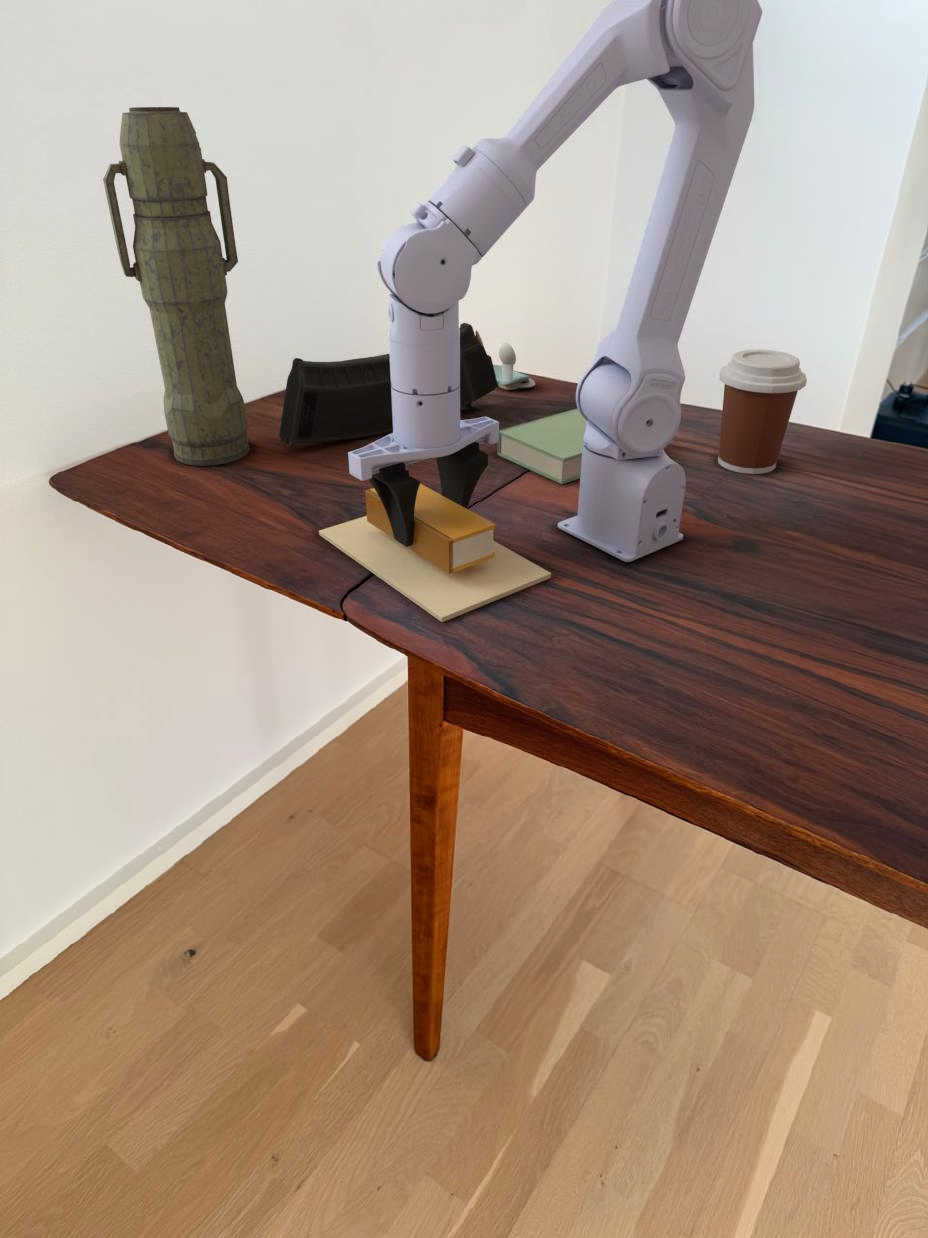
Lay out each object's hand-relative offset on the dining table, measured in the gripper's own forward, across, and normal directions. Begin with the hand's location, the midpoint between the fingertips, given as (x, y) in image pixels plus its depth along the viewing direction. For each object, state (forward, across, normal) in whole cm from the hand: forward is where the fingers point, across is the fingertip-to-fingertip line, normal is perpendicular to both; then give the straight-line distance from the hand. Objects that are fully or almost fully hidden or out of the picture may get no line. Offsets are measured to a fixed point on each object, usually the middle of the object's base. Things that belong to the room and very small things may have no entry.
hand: (429, 533), depth 77 cm
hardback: (+2, -29, -10) cm, 31 cm away
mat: (+2, 0, 0) cm, 2 cm away
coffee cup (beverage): (+2, -42, +4) cm, 42 cm away
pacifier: (+2, -40, -35) cm, 53 cm away
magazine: (+2, -17, -31) cm, 35 cm away
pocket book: (+1, 0, 0) cm, 1 cm away
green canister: (+2, +5, -37) cm, 37 cm away
